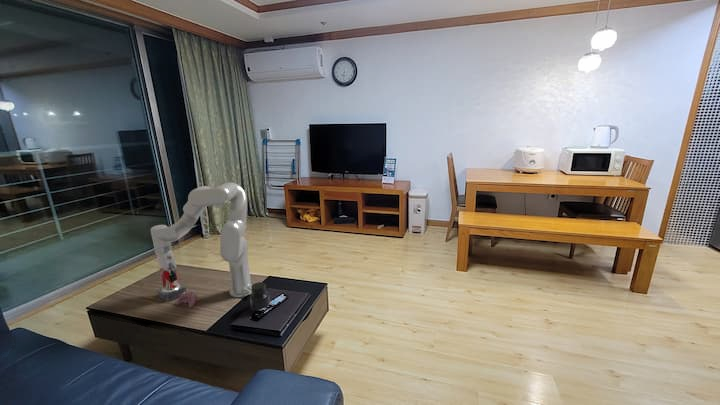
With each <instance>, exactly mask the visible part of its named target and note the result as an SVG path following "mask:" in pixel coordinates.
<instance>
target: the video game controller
mask: <svg viewBox="0 0 720 405" xmlns="http://www.w3.org/2000/svg"><path fill="white" fill-rule="evenodd" d="M197 300H198V295H197V293H194V292H192V291H186V292H184V293H182V294H181V295H180V297H178V298H177V300H176V303H175V306H176V305H177V306H180V304H181V303H182V302H183V303H184V304H188V308H189V309H191V308H193V307H194V305H195V303H196V302H197Z"/></svg>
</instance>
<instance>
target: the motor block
mask: <svg viewBox="0 0 720 405" xmlns="http://www.w3.org/2000/svg"><path fill="white" fill-rule="evenodd" d="M156 292H157V297H158V298H160V299H161V300H163V301H164V302H166V303H169V302H171V301H173V300H175V299H178V298H179V297H180V295H181V294H182V293H184V292H187V288H186V286H185V285H183V284H181V283H179V282H178V286H177V287H176V288H174V289H171V290H166V289H164V288H163V285H162V286H161V287H160V288H158V289H157V290H156Z"/></svg>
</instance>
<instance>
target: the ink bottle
mask: <svg viewBox="0 0 720 405" xmlns="http://www.w3.org/2000/svg"><path fill="white" fill-rule="evenodd" d="M251 291H252V293H251V294H250V296H249V299H250V309H251V311H253V310H254V311H253V312H255V311H257V310H259V309H262V308H264V307H266V306H267V305H268V304H269V303H270V304H271V300H270V293H269V292H268V291H267V284H266V283H265V282H261V281H259V282H256V283H253V284H252V286H251Z"/></svg>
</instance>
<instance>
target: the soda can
mask: <svg viewBox="0 0 720 405" xmlns="http://www.w3.org/2000/svg"><path fill="white" fill-rule="evenodd" d="M170 269H171V268H170ZM171 271H172V270H171ZM171 271H170V272H171ZM159 273H160V274H159V275H160V279H161V284H162V286H163V288H164V289H166V290H171V289H174V288H176V287H177V286H178V283H179V279H178V274H177V272H176V276H177V280H176V281H173V282H170V279H169V273H168V271H165V270H164V269H162V268H161V271H159Z"/></svg>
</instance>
